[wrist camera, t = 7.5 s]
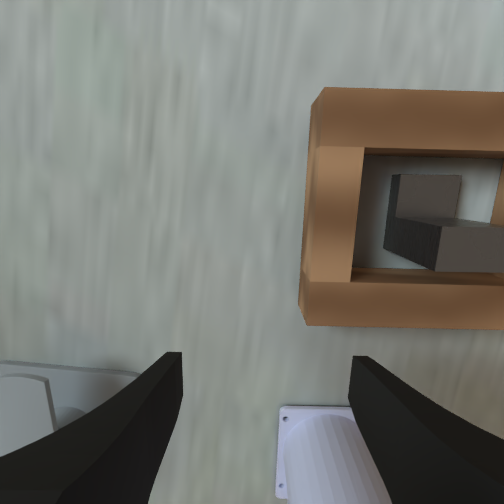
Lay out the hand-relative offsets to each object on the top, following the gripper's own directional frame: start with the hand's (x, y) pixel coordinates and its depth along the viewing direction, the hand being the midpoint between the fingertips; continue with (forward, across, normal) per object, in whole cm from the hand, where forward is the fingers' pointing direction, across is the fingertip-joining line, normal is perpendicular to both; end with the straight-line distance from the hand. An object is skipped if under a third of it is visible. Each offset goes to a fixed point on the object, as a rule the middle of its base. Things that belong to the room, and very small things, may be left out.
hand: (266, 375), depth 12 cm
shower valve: (+11, +16, +12) cm, 22 cm away
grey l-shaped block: (+10, -11, -6) cm, 16 cm away
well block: (+10, -11, -6) cm, 16 cm away
